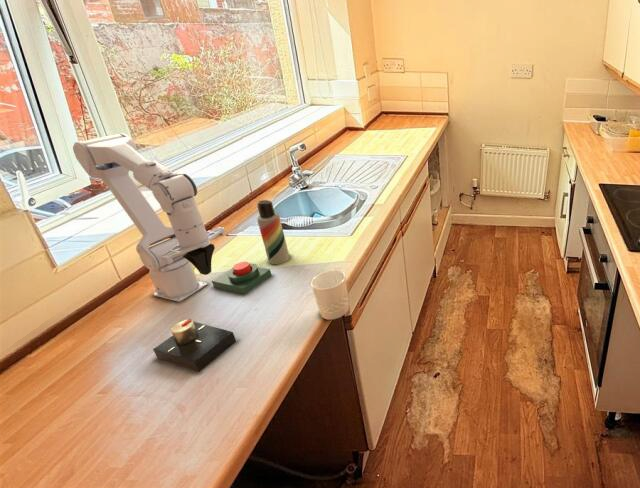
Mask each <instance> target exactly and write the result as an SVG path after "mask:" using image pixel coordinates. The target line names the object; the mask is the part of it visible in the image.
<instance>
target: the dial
mask: <svg viewBox="0 0 640 488" xmlns="http://www.w3.org/2000/svg"><path fill="white" fill-rule="evenodd" d="M193 322H194V321H193V320H192V319H191V318H188V319H185V320H182V321H179V322H177V323H176V324H174V325H173V326H172V327H171V328H170V332H171V336H173V337H174V339H175V342H176V344H178V345H183V344H187V343H189V342H191V341H193V340H194V339H196V337H197V336H198V333H197V330H196V328H195V325H194V323H193Z"/></svg>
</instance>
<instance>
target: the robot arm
mask: <svg viewBox="0 0 640 488" xmlns="http://www.w3.org/2000/svg"><path fill="white" fill-rule="evenodd" d="M72 151H73V154H74V157H75V159H76V160H77V162H78V163H79V164H80V166H81V167H82V170H84V172H85V173H86V174H87V175H89V177H90V178H92V179H97V180H101V181H102V182H103V184H105V186H106V187H107V188H108V190H109V191H110V192H111V194H112V195H113V196H114V198H115V199H116V200H117V202H118V204H119V205H120V206H121V207H122V209H123V210H124V211H125V213H126V215H127V216H128V217H129V218H130V220H131V221H132V223H133V224H134V226H135V227H136V228H137V230H138V231H139V233H140V234H141V235H142V237H141V238H140V240H139V241H138V243H137V244H136V247H135V250H136V253H137V254H138V256H139V259H140V260H141V262H142V264H143V265H144V266H145V267H146V269H148V270H149V273H148V274H149V277H150V279H151V282H152V284H153V286H154V288H155V290H156V292H154V293H153V296H154V297H158V298H163V299H167V300H170V301H174V302H182V301H184V300H185V299H187V298H189V297H191V296H192V295H193V294H195V293H197V292H198V291H200V290H201V289H203V288H205V287H206V286H208V283H207V282H204V281H199V279H198V278H197V274H196V272H195V269H194V268H196V270H197V271H198V272H199V274H201V275H204V276H208V275H209V274H210V273H212V259H213V254H214V251H215V249H216V248H215V244H213V243H211V242H212V241H214V240H216V239H218V238H220V237H224V236H226V235H227V232H226V228H225V227H222V226H217V227H215V228H213V229H210V230H207V229H206V227H205V226H206V225H205V224H204V221H203V218H202V215H201V213H200V210H199V206H198V204H197V201H196V199H195V197H196V196H197V195H198V188H197V184H196V183H195V182H194V180H193V179H192V178H191V176H189V175H188V174H187V173H185V172H182V173H180V172H177V173H176V172H175V173H174V172H173V171H172V170H170V169H169V168H167V167H166V166H164V165H163V164H161V163H160V162H158V161H156V160H147V159H146V158H145V157H144V156H143V155H142V154H140V153H139V152H138V149H137V145H136V143H135V142H134V140H133V138H131V136H129V134H126V133H123V132H120V133H119V132H118V134H113V135H107V136H104V137H98V138H93V139H89V140H88V139H87V140H83V141H75V142H74V143H73V145H72ZM130 172H132V176H133V179H134V180H135V181H137V182H138V183H139V184H141V185H142V186H143V187H145V188H147V189H148V190H150V191H151V193H152V195H153V197H154V199H155V200H156V201H157V203H158V204H159V207H160V208H161V210H162V211H163V212H164V213H166V215H167V218H168V220H169V223H170V226H166V225H165V223H164V222H163V221H162V220H161V218H160V217H159V215H158V213H157V212H156V211H155V209H154V208H153V207H152V205H151V203H149V202H148V199H147V198H146V197H145V196H144V194H143V193H142V191H141V190H140V188H139V187H138V185H137V184H136V183H135V181H134V180H133V179H132V177H131V176H130Z"/></svg>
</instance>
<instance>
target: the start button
mask: <svg viewBox="0 0 640 488" xmlns="http://www.w3.org/2000/svg"><path fill="white" fill-rule="evenodd" d="M232 268H233V271H234V274H235V275H243V274H246V273H248V272H250V271H251V267H250V262H249V261H240V262H237V263H236V264H234V265H233V266H232Z"/></svg>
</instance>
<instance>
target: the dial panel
mask: <svg viewBox="0 0 640 488" xmlns="http://www.w3.org/2000/svg"><path fill="white" fill-rule="evenodd" d="M193 323H194V325H195V328H196V330H197V333H198V336H197V337H196V339H194V340H193V341H191V342H189V343H187V344H183V345H178V344H176V342H175V339H174V337H173V335H171V336H170V337H168V338H166V339H165V340H164V341H162V342H161V343H160V344H158V345H157V346H155V347H154V348H152V350H153V353H154V354H155V355H154V356H155V357H156V360H159V361H162V362H165V363H169V364H172V365H175V366H179V367H182V368H185V369H188V370H192V371H195V372H198V373H199V372H202V370H204V369H205V368H206V367H207V366H208V365H210V364H211V363H212V362H214V361H215V360H216V359H217V358H219V357H220V356H221V355H222V354H223V353H224V352H226V351H227V350H228V349H229V348H230V347H232V346H233V345H235V343H237V340H236V336H235V334H234V331H231V330H227V329H223V328H219V327H217V326H212V325H208V324H205V323H201V322H197V321H193Z"/></svg>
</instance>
